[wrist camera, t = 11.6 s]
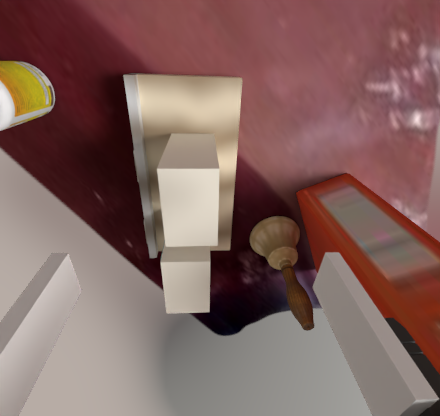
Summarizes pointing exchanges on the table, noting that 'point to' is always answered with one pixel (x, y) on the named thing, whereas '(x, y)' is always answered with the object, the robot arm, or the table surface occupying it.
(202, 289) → the carton
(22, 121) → the supplement bottle
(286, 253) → the hand bell
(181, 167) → the carton
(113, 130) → the table surface
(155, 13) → the table surface
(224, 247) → the thin cream board
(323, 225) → the file binder
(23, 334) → the robot arm
